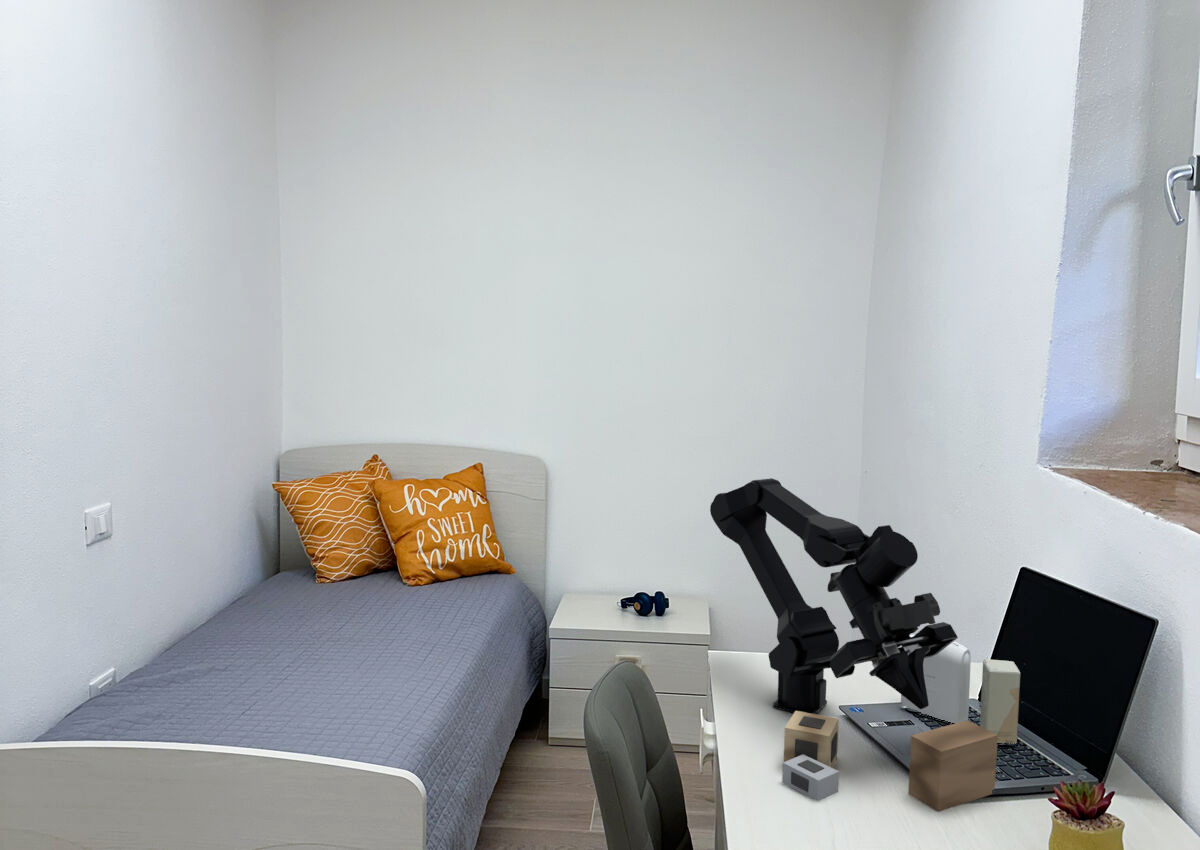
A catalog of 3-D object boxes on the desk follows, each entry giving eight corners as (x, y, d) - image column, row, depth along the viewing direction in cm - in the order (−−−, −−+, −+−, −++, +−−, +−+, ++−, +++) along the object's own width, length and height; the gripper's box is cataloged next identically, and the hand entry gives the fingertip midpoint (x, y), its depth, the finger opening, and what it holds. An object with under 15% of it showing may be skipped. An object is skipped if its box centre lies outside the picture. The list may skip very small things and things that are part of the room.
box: (1016, 748, 139) (1021, 673, 138) (984, 745, 140) (989, 671, 139) (1009, 732, 145) (1013, 660, 143) (978, 729, 145) (982, 657, 144)
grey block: (781, 784, 129) (782, 761, 129) (802, 775, 132) (803, 753, 132) (817, 803, 125) (817, 779, 124) (838, 793, 127) (839, 770, 127)
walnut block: (908, 794, 127) (911, 735, 126) (963, 777, 131) (966, 720, 130) (937, 812, 122) (941, 751, 121) (994, 793, 127) (997, 735, 126)
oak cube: (783, 770, 133) (784, 726, 132) (794, 751, 139) (795, 709, 138) (828, 779, 130) (830, 735, 130) (838, 760, 136) (840, 717, 135)
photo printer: (895, 709, 152) (899, 632, 151) (908, 701, 156) (912, 625, 154) (960, 729, 145) (965, 649, 144) (972, 720, 149) (976, 641, 147)
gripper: (847, 583, 128) (906, 695, 120) (950, 566, 137) (1012, 668, 129) (806, 624, 136) (858, 731, 128) (906, 605, 145) (961, 704, 137)
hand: (924, 707), depth 130 cm, fingers closed
